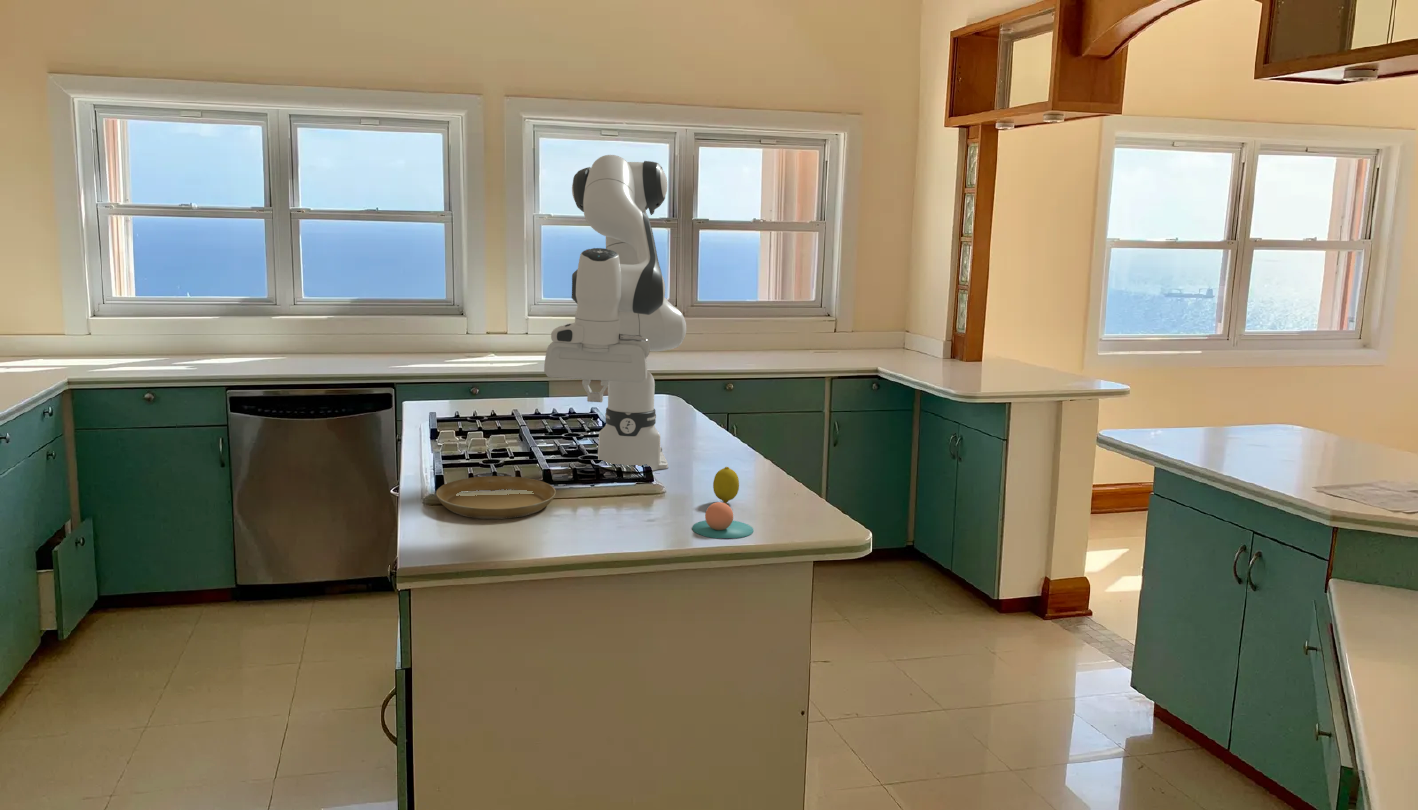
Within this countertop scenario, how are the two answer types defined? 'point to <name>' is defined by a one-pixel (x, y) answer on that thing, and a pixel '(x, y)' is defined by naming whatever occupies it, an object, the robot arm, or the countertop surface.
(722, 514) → the ball
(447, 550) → the countertop surface
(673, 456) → the countertop surface
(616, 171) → the robot arm
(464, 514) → the plant saucer
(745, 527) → the disc
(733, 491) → the lemon
